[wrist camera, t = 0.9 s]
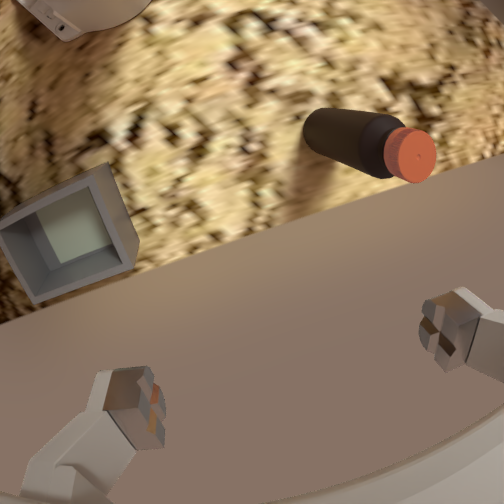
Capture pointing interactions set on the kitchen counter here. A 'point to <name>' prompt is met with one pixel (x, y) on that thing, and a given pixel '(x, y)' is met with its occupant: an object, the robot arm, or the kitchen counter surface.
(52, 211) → the walled bin
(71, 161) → the kitchen counter surface
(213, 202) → the kitchen counter surface
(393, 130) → the vinegar
